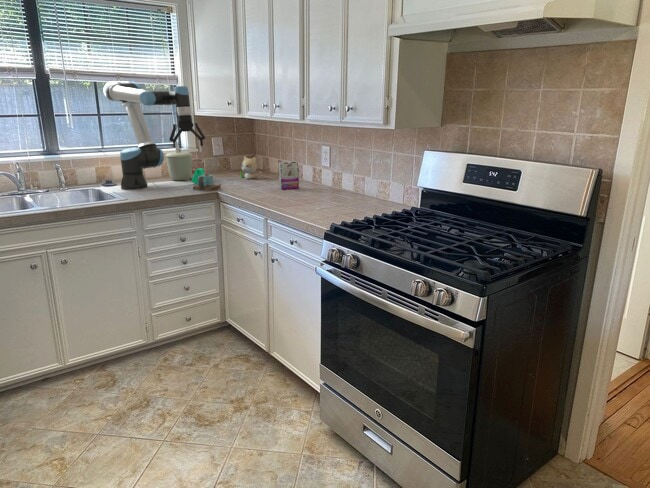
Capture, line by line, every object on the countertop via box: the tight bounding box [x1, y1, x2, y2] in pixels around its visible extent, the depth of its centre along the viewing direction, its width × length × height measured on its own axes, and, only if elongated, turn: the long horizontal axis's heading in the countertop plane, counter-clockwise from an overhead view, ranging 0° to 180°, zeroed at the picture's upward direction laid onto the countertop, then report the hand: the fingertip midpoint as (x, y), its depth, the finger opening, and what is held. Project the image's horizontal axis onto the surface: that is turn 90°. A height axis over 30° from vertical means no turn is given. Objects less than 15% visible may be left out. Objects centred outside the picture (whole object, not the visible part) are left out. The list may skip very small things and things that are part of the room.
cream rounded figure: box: [239, 155, 262, 180], centre depth 325 cm, size 15×10×15 cm
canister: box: [164, 147, 194, 182], centre depth 319 cm, size 18×18×21 cm
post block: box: [192, 171, 222, 192], centre depth 291 cm, size 14×10×10 cm
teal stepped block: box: [198, 174, 214, 187], centre depth 287 cm, size 6×14×6 cm, turn 174°
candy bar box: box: [278, 160, 300, 191], centre depth 292 cm, size 11×5×16 cm, turn 112°
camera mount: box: [191, 167, 215, 185], centre depth 306 cm, size 12×8×10 cm, turn 62°
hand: (189, 152), depth 280 cm, fingers open, 13 cm apart
